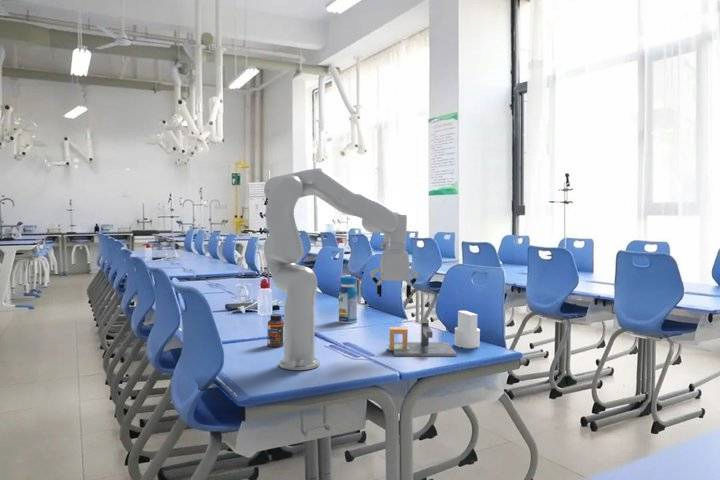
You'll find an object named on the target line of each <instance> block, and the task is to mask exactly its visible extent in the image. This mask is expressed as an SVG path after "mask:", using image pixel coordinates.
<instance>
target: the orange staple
mask: <svg viewBox="0 0 720 480" xmlns="http://www.w3.org/2000/svg"><path fill="white" fill-rule="evenodd" d="M408 334H409V333H408V328H407V326H389V343H388V344H389V346H390V348H394V342H395V335H401V336H402V341H401V342H402V346H403V348H407V342H408V338H409V337H408Z"/></svg>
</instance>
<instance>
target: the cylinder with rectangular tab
mask: <svg viewBox="0 0 720 480" xmlns="http://www.w3.org/2000/svg"><path fill="white" fill-rule="evenodd" d="M480 336H481V329H480V328H478V314H477V313H474V312H470V311H468V310H458V311H457V327H455V328H454V346H455V347H457V346H458V348H461V347H463V349H476V347H477V348H480V346H481V345H480V341H481V340H480V339H481V338H480Z"/></svg>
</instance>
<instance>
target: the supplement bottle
mask: <svg viewBox="0 0 720 480" xmlns="http://www.w3.org/2000/svg"><path fill="white" fill-rule="evenodd" d="M266 342H267V346H268V347H271V348H280V347H283V346H284V320H283V319H282V314H280V313H273V314H270V319H269V320H268V321H267V340H266Z"/></svg>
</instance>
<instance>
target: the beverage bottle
mask: <svg viewBox="0 0 720 480" xmlns="http://www.w3.org/2000/svg"><path fill="white" fill-rule="evenodd" d="M339 281H340V285H341V286H340V288H339V290H338V294H339V296H338V299H337V300H338V322H339V323H342V324H354V323H357V322H358V290H357V288H356V286H355V285H356V284H357V283H356V282H357V279H356V276H349V275H347V276H346V275H345V276H340V280H339Z"/></svg>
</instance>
